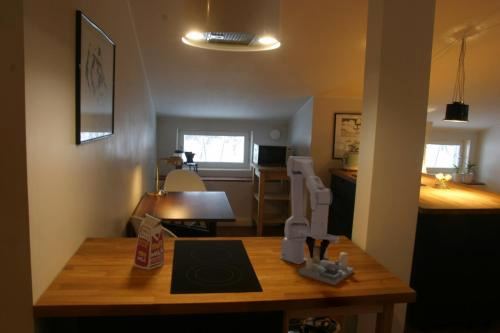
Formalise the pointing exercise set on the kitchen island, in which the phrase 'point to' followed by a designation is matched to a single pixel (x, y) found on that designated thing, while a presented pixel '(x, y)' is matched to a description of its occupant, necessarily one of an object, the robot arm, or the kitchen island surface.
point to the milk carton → (149, 244)
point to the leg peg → (316, 254)
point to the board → (327, 269)
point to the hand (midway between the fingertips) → (316, 258)
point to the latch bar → (330, 264)
